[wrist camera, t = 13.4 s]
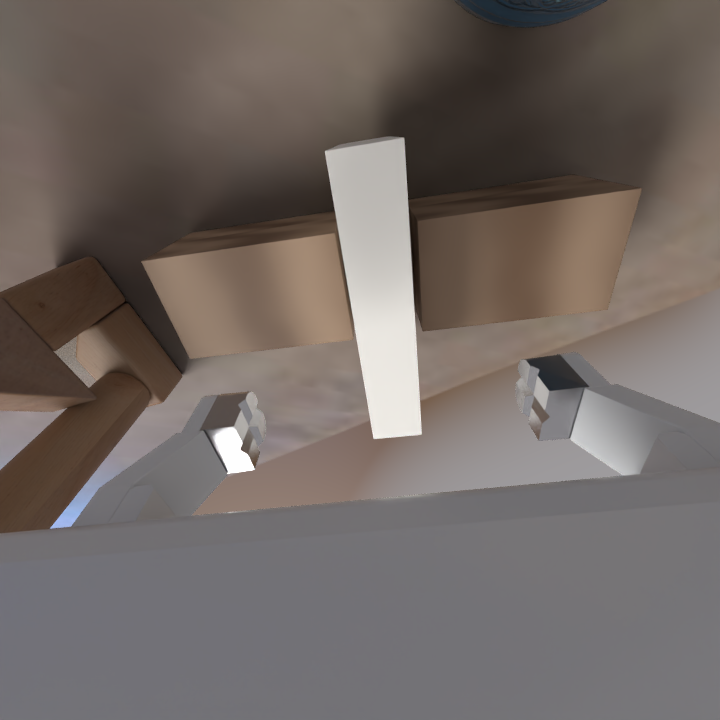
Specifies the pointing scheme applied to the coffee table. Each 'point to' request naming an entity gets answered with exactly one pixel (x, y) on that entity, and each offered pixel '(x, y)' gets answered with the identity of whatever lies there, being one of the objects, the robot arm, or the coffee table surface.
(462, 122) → the coffee table surface
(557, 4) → the canister
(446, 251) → the walnut crossbar
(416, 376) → the white rectangular slab
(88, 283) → the wooden block
